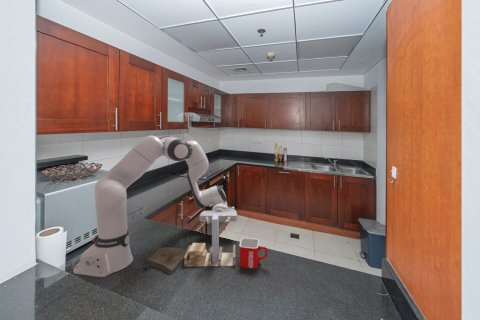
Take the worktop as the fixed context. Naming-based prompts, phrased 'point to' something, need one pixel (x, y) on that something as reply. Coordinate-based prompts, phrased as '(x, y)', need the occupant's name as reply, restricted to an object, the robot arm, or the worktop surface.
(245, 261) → the mug
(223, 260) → the offcut rack
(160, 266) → the brown flat slab
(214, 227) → the tall board
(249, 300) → the worktop surface
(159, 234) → the worktop surface
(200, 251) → the offcut stack
